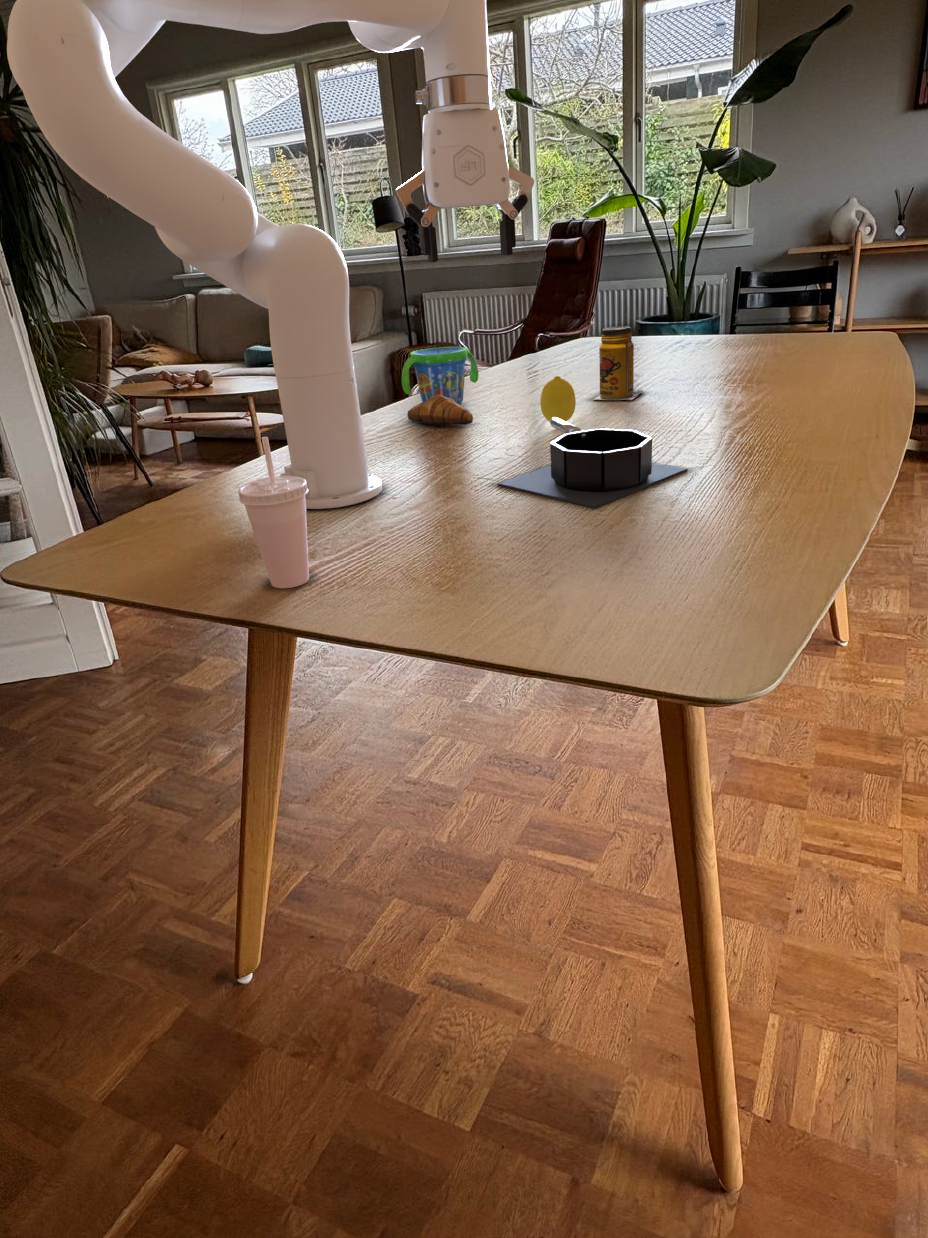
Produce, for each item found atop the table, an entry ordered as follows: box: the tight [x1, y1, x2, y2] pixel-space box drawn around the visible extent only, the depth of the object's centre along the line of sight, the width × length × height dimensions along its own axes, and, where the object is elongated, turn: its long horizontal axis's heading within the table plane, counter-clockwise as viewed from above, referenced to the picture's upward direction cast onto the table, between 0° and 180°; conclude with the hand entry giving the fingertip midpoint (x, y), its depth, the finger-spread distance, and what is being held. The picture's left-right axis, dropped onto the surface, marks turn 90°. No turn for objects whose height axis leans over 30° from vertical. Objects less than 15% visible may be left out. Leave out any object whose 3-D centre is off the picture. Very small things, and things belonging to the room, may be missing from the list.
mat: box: [497, 462, 688, 509], centre depth 102 cm, size 18×16×1 cm
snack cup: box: [401, 346, 480, 406], centre depth 150 cm, size 16×10×10 cm
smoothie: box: [237, 436, 310, 589], centre depth 76 cm, size 6×6×14 cm
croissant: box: [407, 394, 474, 426], centre depth 138 cm, size 14×7×5 cm, turn 54°
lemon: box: [539, 375, 577, 423], centre depth 128 cm, size 6×6×8 cm
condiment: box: [593, 325, 645, 401], centre depth 145 cm, size 7×8×12 cm
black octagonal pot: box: [549, 417, 653, 492], centre depth 104 cm, size 22×12×5 cm, turn 16°
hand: (470, 258), depth 102 cm, fingers open, 9 cm apart
